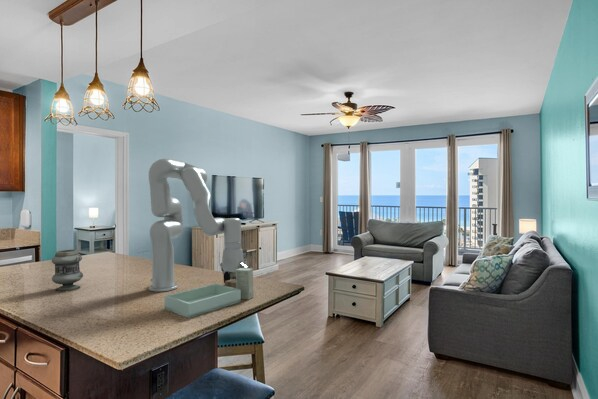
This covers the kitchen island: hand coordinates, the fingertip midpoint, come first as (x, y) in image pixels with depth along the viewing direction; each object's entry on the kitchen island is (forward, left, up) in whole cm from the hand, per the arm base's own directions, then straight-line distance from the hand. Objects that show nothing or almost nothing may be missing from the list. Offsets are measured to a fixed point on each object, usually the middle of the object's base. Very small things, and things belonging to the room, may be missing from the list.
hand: (234, 284), depth 158 cm
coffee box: (-10, +12, -4) cm, 16 cm away
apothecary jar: (-64, -44, -4) cm, 78 cm away
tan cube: (0, 0, -4) cm, 4 cm away
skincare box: (+11, -3, -4) cm, 12 cm away
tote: (+6, -20, -4) cm, 21 cm away
